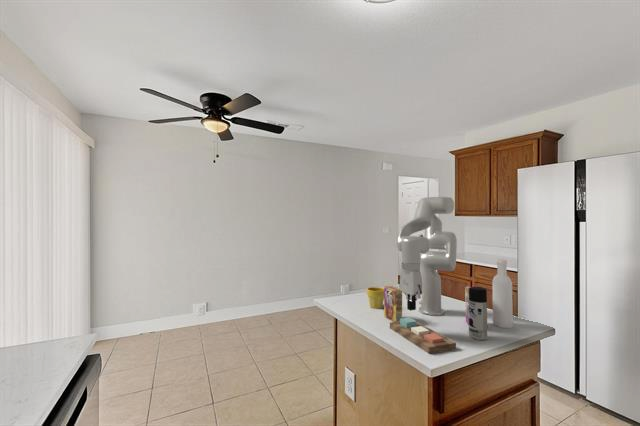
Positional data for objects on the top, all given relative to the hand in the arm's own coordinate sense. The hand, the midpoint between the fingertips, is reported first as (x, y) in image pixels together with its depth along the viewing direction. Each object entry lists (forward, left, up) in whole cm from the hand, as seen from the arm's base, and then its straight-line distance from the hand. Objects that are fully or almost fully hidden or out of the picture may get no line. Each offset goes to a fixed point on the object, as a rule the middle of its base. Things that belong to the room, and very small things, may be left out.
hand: (411, 309), depth 124 cm
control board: (+6, 0, -10) cm, 11 cm away
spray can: (+13, +23, -10) cm, 28 cm away
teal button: (-2, 0, -8) cm, 8 cm away
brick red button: (+14, 0, -9) cm, 17 cm away
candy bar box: (+2, +32, -10) cm, 33 cm away
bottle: (+6, +45, -10) cm, 46 cm away
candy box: (-17, +2, -10) cm, 20 cm away
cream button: (+6, 0, -9) cm, 11 cm away
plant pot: (-37, +4, -10) cm, 39 cm away
